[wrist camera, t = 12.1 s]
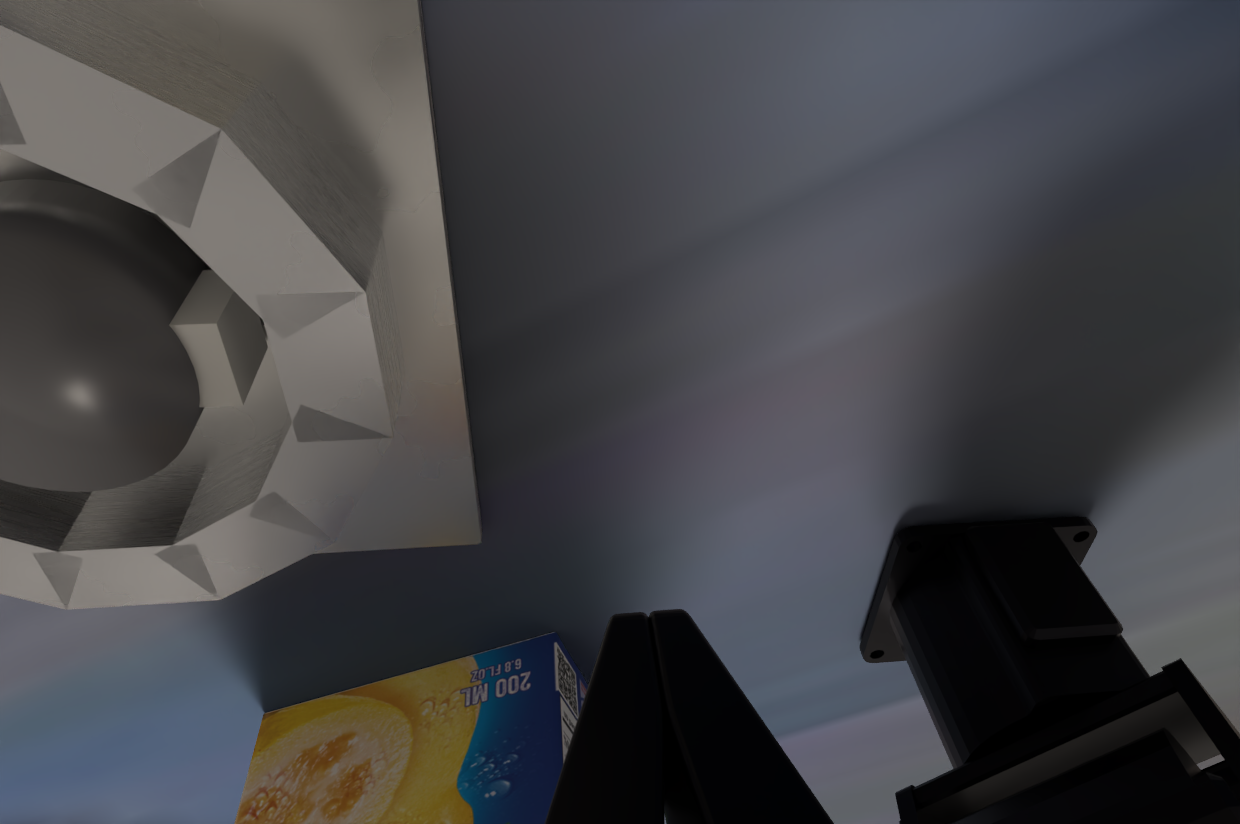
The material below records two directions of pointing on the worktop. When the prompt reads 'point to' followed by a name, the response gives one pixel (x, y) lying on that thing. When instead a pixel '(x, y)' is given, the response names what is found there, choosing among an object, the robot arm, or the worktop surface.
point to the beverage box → (424, 745)
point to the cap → (108, 339)
